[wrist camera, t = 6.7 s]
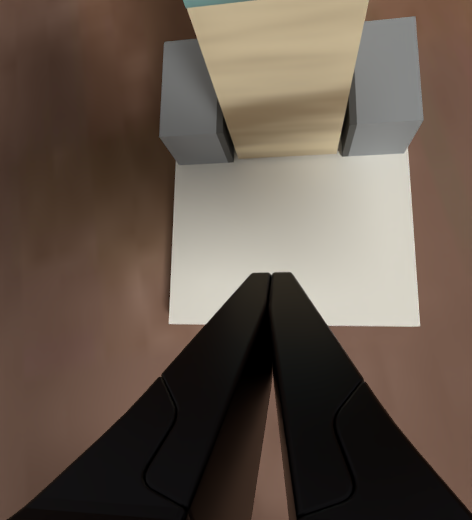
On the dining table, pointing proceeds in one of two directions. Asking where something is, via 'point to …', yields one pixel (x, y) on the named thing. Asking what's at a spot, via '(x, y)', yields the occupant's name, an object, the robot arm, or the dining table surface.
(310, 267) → the block holder base
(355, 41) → the peg
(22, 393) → the dining table surface
